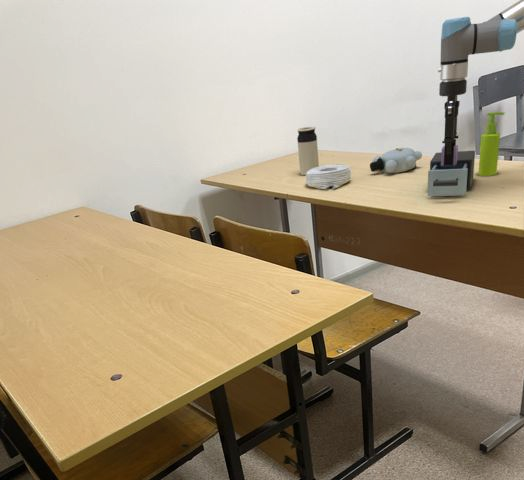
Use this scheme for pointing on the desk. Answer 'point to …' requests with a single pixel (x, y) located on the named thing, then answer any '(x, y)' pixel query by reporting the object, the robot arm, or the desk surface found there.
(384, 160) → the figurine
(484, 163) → the soap dispenser
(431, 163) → the small drawer cabinet
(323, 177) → the cable
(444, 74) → the robot arm
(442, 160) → the purple block
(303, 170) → the travel mug
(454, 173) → the drawer
